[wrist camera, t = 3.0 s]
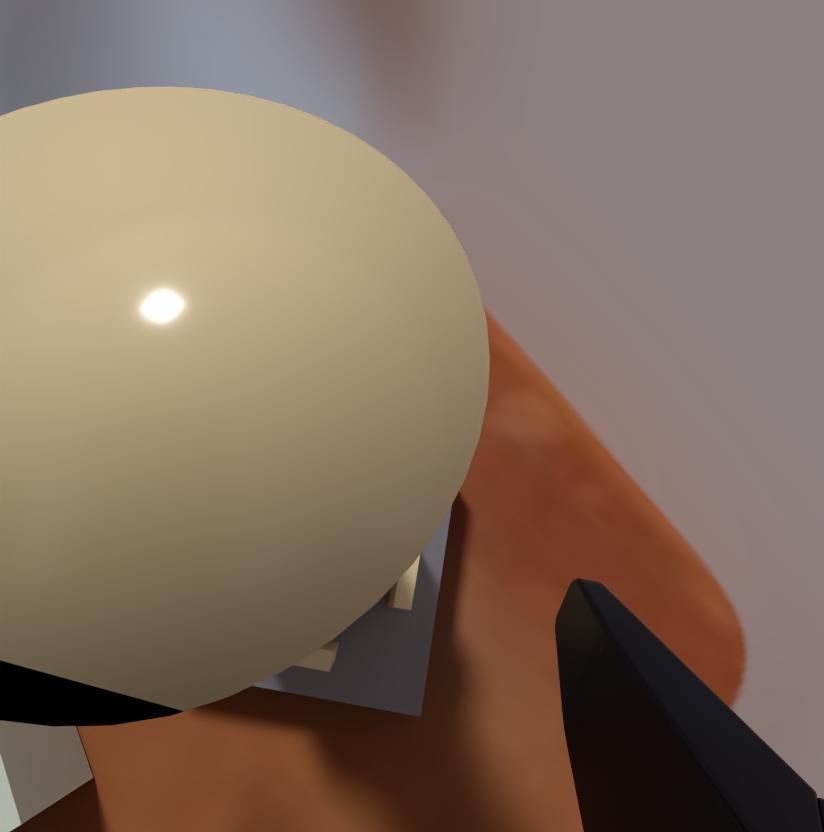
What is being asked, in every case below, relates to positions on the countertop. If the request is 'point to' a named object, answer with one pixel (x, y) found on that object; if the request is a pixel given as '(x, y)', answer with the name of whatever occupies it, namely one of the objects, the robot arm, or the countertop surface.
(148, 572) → the white and tan post
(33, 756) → the tray
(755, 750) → the robot arm
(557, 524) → the countertop surface
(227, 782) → the countertop surface
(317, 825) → the countertop surface
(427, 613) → the grey stand with brackets
